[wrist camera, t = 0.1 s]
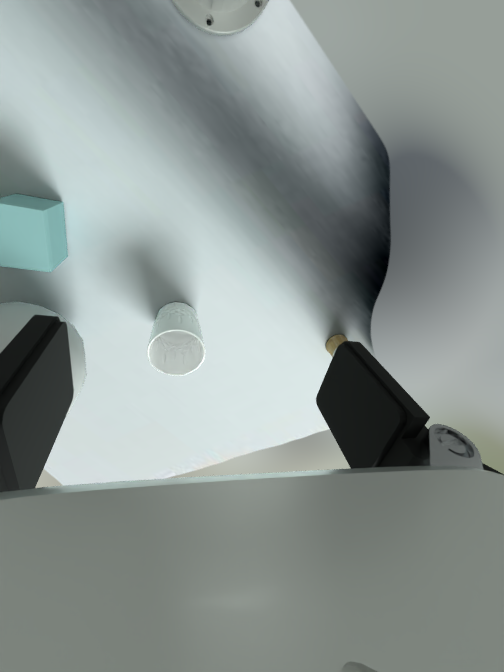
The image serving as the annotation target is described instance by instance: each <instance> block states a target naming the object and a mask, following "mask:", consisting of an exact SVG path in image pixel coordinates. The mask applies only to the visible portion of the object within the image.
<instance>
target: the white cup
mask: <svg viewBox="0 0 504 672" xmlns="http://www.w3.org/2000/svg"><path fill="white" fill-rule="evenodd" d="M147 357H148V360H149V362H150V364H151V365H152V366H153V367H154V368H155V369H156V370H157V371H159V372H161V373H163V374H166V375H171V376H180V375H185V374H188V373H191V372H193V371H194V370H196V369H197V368H198V367H199V366H200V365H201V364H202V362H203V360H204V358H205V347H204V342H203V337H202V332H201V328H200V324H199V321H198V316H197V314H196V312H195V311H194V309H193V308H192V307H190V306H189V305H187V304H185V303H180V302H173V303H169V304H166V305H165V306H164V307H162V308H161V309H160V310H159V312H158V315H157V317H156V320H155V322H154V325H153V329H152V332H151V337H150V341H149V344H148V348H147Z"/></svg>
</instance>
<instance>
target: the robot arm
mask: <svg viewBox="0 0 504 672" xmlns="http://www.w3.org/2000/svg"><path fill="white" fill-rule="evenodd" d="M171 1H172V2H173V4H174V5H175V7H176V8H177V10H178V11H179V12H180V13H181V14H182V15H183V16H184V17H185V18H186V19H187V20H188V21H189V22H190V23H191V24H193V25H194V26H195V27H197V28H198V29H200V30H202V31H204V32H207V33H209V34H212V35H218V36H227V35H234V34H236V33H239V32H242V31H243V30H245V29H246V28H248V27H249V26H250V25H252V24H253V23H254V22H255V20H256V19H257V18H258V17H259V16H260V15H261V13H262V12H263V10H264V9H265V7H266V5H267V3H268V1H269V0H171ZM255 2H258V4H259V7H256V6H255ZM207 20H210V22H211V25H210V26H209V25H207V22H206V21H207ZM73 395H74V387H73V378H72V368H71V358H70V348H69V339H68V329H67V324H66V322H61V321H60V319H59V317H58V316H47V315H34V316H33V317H32V318H31V319H30V320H29V321H28V322H27V324H26V325H25V326H24V327H23V328H22V329H21V330H20V332H19V333H18V334H17V335H16V336H15V337H14V338H13V339H12V341H11V342H10V343H9V344H8V345H7V346H6V347H5V348H4V350H3V351H2V352H1V353H0V672H504V474H502V473H500V472H498V471H496V470H494V469H492V468H491V467H489V466H487V465H485V464H483V463H482V461H481V457H480V454H479V451H478V449H477V448H476V447H475V445H474V444H473V443H472V442H471V441H470V440H469V439H468V438H467V437H466V436H464V435H463V434H462V433H460V432H459V431H457V430H455V429H453V428H451V427H448V426H445V425H441V424H434V425H432V426H430V428H429V429H427V428H426V427H425V424H426V423H427V421H428V420H429V418H430V417H429V416H428V415H427V414H426V413H425V411H424V410H423V409H422V408H421V407H420V406H419V405H418V404H417V403H416V402H415V401H414V400H413V399H412V398H411V396H410V395H409V394H408V393H407V392H406V391H405V390H404V389H403V388H402V387H401V386H400V385H399V384H398V382H397V381H396V380H395V379H394V378H393V377H392V376H391V375H390V374H389V373H388V372H387V371H386V370H385V369H384V368H383V367H382V366H381V364H380V363H379V362H378V361H377V360H376V359H375V358H374V357H373V356H372V355H371V354H370V352H369V351H368V350H367V349H366V348H365V347H364V346H363V345H362V344H361V343H360V342H353V341H344V342H343V343H342V344H340V345H339V346H338V347H337V349H336V351H335V354H334V356H333V359H332V361H331V363H330V366H329V368H328V371H327V373H326V375H325V378H324V380H323V382H322V385H321V387H320V390H319V392H318V394H317V397H316V403H317V406H318V408H319V410H320V411H321V413H322V415H323V417H324V419H325V421H326V423H327V424H328V426H329V428H330V430H331V432H332V434H333V436H334V438H335V439H336V441H337V443H338V445H339V447H340V449H341V451H342V452H343V454H344V456H345V458H346V460H347V462H348V464H349V465H350V467H351V469H336V470H335V469H334V470H315V471H295V472H278V473H277V472H276V473H259V474H240V475H221V476H204V477H187V478H171V479H154V480H137V481H120V482H107V483H94V484H80V485H67V486H53V487H42V488H35V486H36V484H37V482H38V479H39V477H40V475H41V472H42V470H43V468H44V466H45V463H46V461H47V459H48V456H49V454H50V452H51V449H52V447H53V445H54V442H55V440H56V438H57V435H58V433H59V431H60V428H61V426H62V424H63V421H64V419H65V417H66V414H67V412H68V410H69V408H70V405H71V403H72V400H73Z"/></svg>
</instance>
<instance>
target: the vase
mask: <svg viewBox="0 0 504 672" xmlns="http://www.w3.org/2000/svg"><path fill="white" fill-rule="evenodd" d="M34 315H47V316H58V317H59V319H60V321H61V322H66V324H67V329H68V339H69V348H70V358H71V368H72V378H73V387H74V395H73V400H72V403H71V405H70V408H69V410H68V412H67V414H66V416H67V415H68V414H69V412H70V410H71V408H72V407H73V405H74V403H75V401H76V399H77V397H78V395H79V393H80V392H81V389H82V387H83V384H84V381H85V378H86V375H87V374H86V361H85V351H84V345H83V340H82V338H81V337H80V335H79V334H78V332H77V330H76V329H75V327H74V326H73V325H72V324H70V323H69V322H68V321H67V320H66V319H64V318H63V317H62V316H61V315H59V314H58V313H55V312H53V311H51V310H49V309H46V308H44V307H42V306H40V305H34V304H29V303H23V302H8V303H0V353H1V352H2V351H3V350H4V348H5V347H6V346H7V345H8V344H9V343H10V342H11V341H12V339H13V338H14V337H15V336H16V335H17V334H18V333H19V332H20V330H21V329H22V328H23V327H24V326H25V325H26V324H27V322H28V321H29V320H30V319H31V318H32V317H33V316H34Z"/></svg>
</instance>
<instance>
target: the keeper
mask: <svg viewBox="0 0 504 672" xmlns="http://www.w3.org/2000/svg"><path fill="white" fill-rule="evenodd" d="M66 257H68V252H67V241H66V230H65V218H64V207H63V202H60V201H54V200H49V199H43V198H38V197H32V196H27V195H21V194H13V195H10V196H6V197H2V198H0V266H3V267H11V268H19V269H27V270H36V271H44V272H52V271H53V270H54V269H55V268H56V267H57V266H58V265H59V264H60V263H61V262H62V261H63V260H64V259H65V258H66Z"/></svg>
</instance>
